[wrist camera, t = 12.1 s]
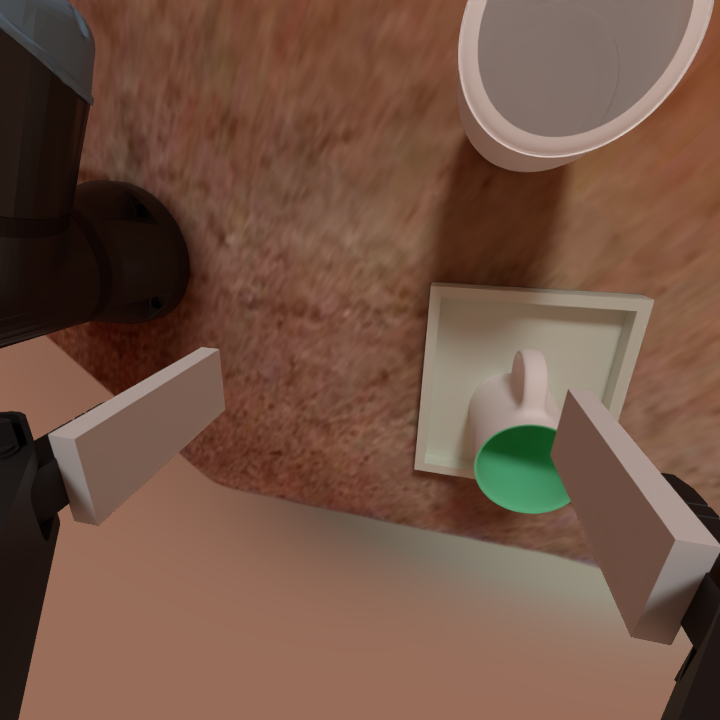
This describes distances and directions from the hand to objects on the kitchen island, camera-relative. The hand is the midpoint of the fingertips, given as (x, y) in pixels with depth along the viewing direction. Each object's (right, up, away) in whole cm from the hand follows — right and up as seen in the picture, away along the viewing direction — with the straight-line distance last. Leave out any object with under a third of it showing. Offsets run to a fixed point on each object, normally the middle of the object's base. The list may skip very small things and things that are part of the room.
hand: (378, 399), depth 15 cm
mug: (+15, -1, +24) cm, 28 cm away
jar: (+13, +22, +16) cm, 30 cm away
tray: (+15, -1, +24) cm, 28 cm away
